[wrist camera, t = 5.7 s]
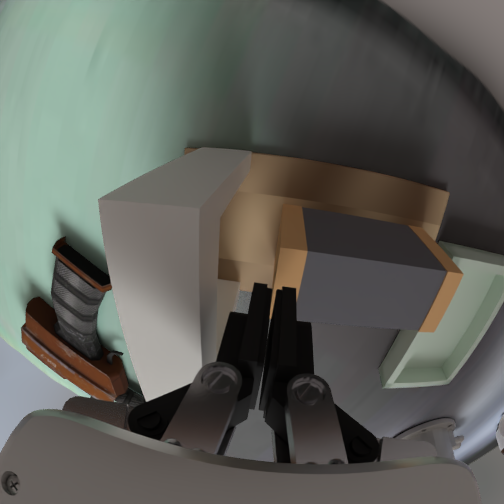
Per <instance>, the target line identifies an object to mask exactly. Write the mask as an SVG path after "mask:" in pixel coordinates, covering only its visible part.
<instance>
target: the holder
mask: <svg viewBox="0 0 504 504" xmlns="http://www.w3.org/2000/svg"><path fill="white" fill-rule="evenodd" d="M197 149H199V148H188V147H187V148H185V154H184V155H186V154H188V153H190V152H193V151H195V150H197ZM449 194H450V193H449V192H447V191H445V190H442V189H438V188H435V187H431V186H428V185H424V184H421V183H417V182H413V181H409V180H405V179H402V178H397V177H393V176H389V175H385V174H381V173H376V172H372V171H367V170H362V169H358V168H353V167H348V166H342V165H337V164H331V163H326V162H320V161H314V160H307V159H301V158H294V157H287V156H279V155H271V154H263V153H254V152H252V155H251V166H250V171H249V173H248V174H247V176H246V178H245V179H244V181H243V182H242V184H241V185H240V187H239V189H238V190H237V192H236V193H235V195H234V196H233V198H232V200H231V201H230V203H229V204H228V206H227V208H226V209H225V211H224V212H223V214H222V216H221V217H220V232H219V256H218V279H222V280H228V281H235V282H240V290H242V291H249V292H252V291H253V286H254V282H256V283H263V284H268V286H267V288H272V283H273V273H274V263H275V256H276V249H277V242H278V235H279V228H280V221H281V214H282V207H283V204H289V205H296V206H302V207H304V208H311V209H317V210H324V211H330V212H336V213H342V214H348V215H354V216H360V217H365V218H371V219H376V220H381V221H387V222H392V223H397V224H402V225H407V226H408V225H410V226H415V227H420V228H423V229H424V230H425V231H426V232H427V233H428V234H429V235H430V237H431V238H432V239H433V240H434V241H435V240H436V237H437V234H438V231H439V228H440V225H441V222H442V218H443V215H444V212H445V208H446V205H447V201H448V198H449Z"/></svg>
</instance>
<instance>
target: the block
mask: <svg viewBox="0 0 504 504" xmlns="http://www.w3.org/2000/svg"><path fill="white" fill-rule="evenodd" d="M463 275H464V274H463V273H462V271H461V270H460V269H459V268H458V267H457V265H456V264H455V263H454V262H453V261H452V260H451V258H450V257H449V256H448V255H447V254H446V253H445V252H444V251H443V249H442V248H441V247H440V246H439V245H438V244H437V243H436V242H435V241H434V240H433V239H432V238H431V237H430V235H429V234H428V233H427V232H426V231H425V230H424V229H423V228H420V227H415V226H410V225H408V226H407V225H402V224H397V223H392V222H387V221H381V220H376V219H371V218H365V217H360V216H354V215H348V214H342V213H336V212H330V211H324V210H317V209H311V208H304V207H302V206H296V205H289V204H283V207H282V214H281V221H280V228H279V235H278V242H277V249H276V256H275V263H274V273H273V283H272V299H271V308H270V318H269V319H271V317H272V312H273V306H274V301H275V295H276V290H277V289H280V290H282V286H285V287H292V288H296V303H297V320H299V321H307V322H316V323H326V324H336V325H347V326H358V327H371V328H386V329H403V330H418V332H435V330H436V328H437V326H438V325H439V323H440V321H441V319H442V317H443V316H444V314H445V312H446V310H447V308H448V306H449V304H450V302H451V300H452V298H453V296H454V294H455V292H456V290H457V288H458V286H459V284H460V281H461V279H462V277H463Z"/></svg>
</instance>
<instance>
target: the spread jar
mask: <svg viewBox="0 0 504 504" xmlns="http://www.w3.org/2000/svg"><path fill="white" fill-rule="evenodd" d="M496 438H497V442H498V445H499V448H500V451H501V452H502V454H503V455H504V415H503V416H502V418H501V420H500V422H499V425H498V427H497V430H496Z"/></svg>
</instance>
